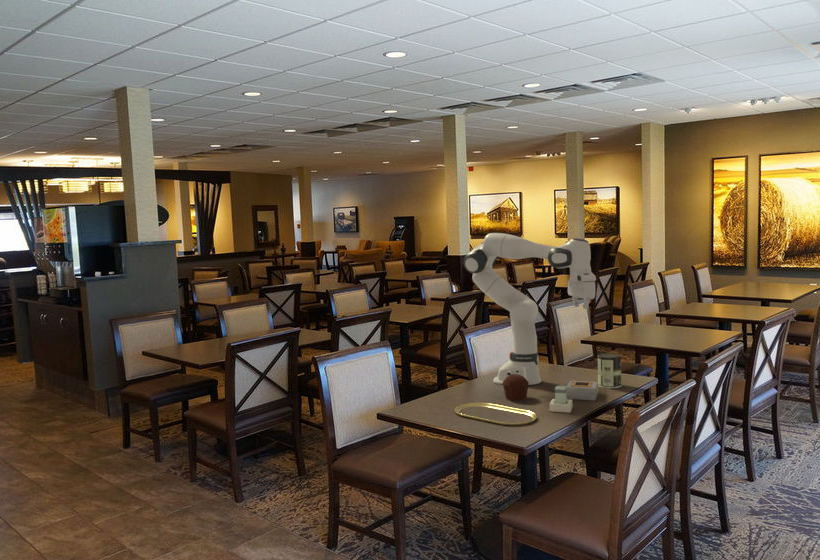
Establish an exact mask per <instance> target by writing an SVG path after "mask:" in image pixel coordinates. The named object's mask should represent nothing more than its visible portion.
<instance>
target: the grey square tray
mask: <svg viewBox="0 0 820 560" xmlns="http://www.w3.org/2000/svg"><path fill="white" fill-rule="evenodd" d="M572 409H573V399H567V404H558V403H555V398H552V399H551V400H550V402H549V412H555V413H570V414H571V412H572Z"/></svg>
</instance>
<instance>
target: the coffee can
mask: <svg viewBox="0 0 820 560" xmlns="http://www.w3.org/2000/svg"><path fill="white" fill-rule="evenodd" d="M596 356H597V382H598V388H603V389H619V388H622V359H621V358H622V355H621V354H618V353H611V352H607V353H606V352H603V353H599V354H597V355H596Z"/></svg>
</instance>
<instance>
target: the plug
mask: <svg viewBox="0 0 820 560" xmlns="http://www.w3.org/2000/svg"><path fill="white" fill-rule="evenodd" d="M566 386H567V385H556V386H555V388H554V399H555V403H558V404H567V400H568V399H567V387H566Z"/></svg>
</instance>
